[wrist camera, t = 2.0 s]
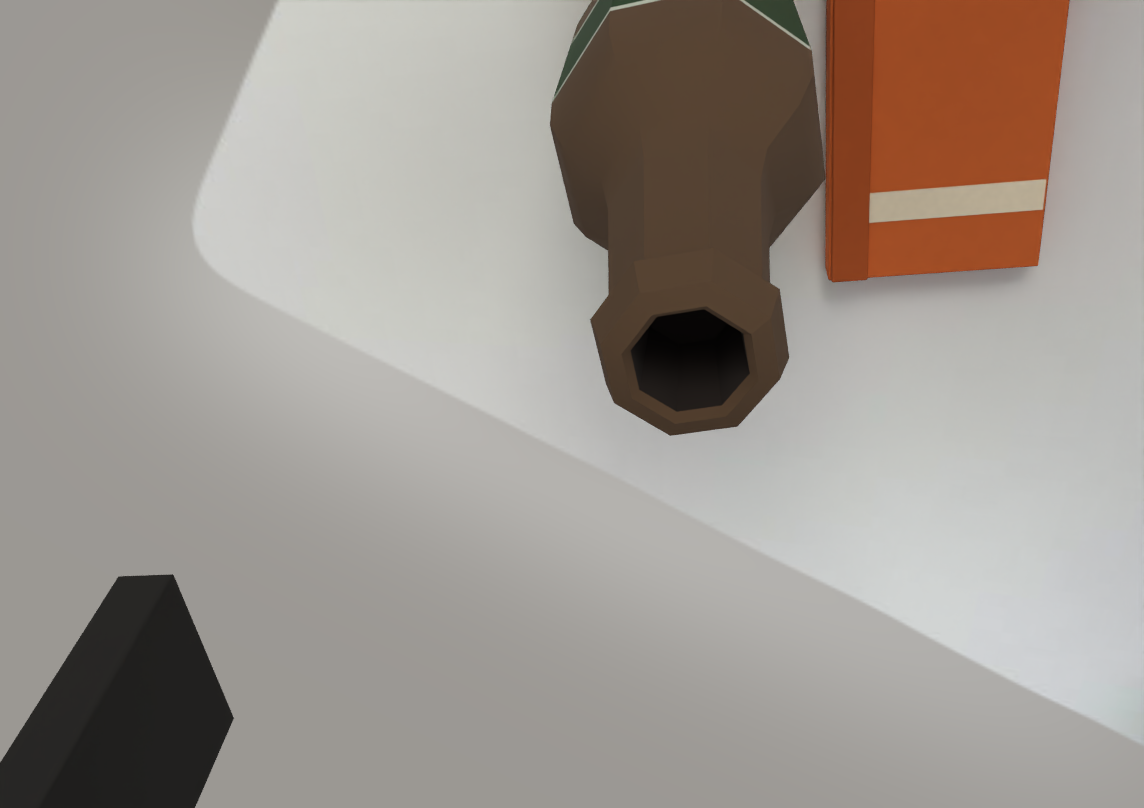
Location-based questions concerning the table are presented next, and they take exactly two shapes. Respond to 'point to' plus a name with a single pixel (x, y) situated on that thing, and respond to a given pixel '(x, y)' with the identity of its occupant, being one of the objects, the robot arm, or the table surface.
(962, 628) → the table surface
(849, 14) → the towel
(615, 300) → the beer bottle
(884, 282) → the table surface
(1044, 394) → the table surface
